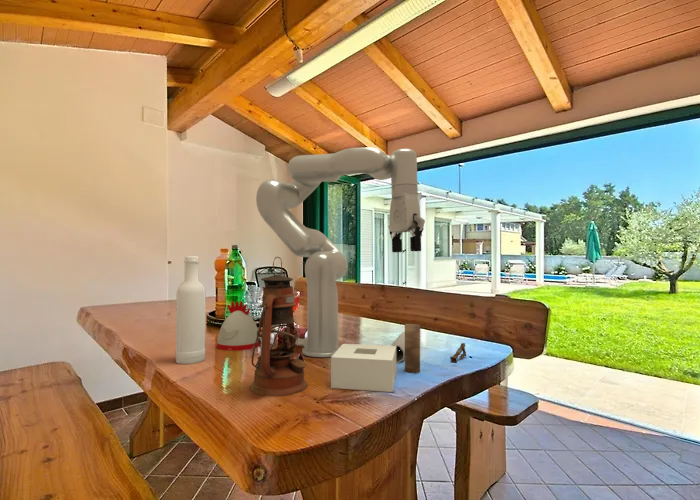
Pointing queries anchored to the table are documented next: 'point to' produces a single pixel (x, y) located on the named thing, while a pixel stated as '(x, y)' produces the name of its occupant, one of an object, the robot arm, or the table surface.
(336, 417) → the table surface
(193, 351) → the bottle
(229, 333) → the white and red dome
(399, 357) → the tube
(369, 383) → the bore block
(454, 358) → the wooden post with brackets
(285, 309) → the lantern
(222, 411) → the table surface
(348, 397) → the table surface
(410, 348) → the pin
